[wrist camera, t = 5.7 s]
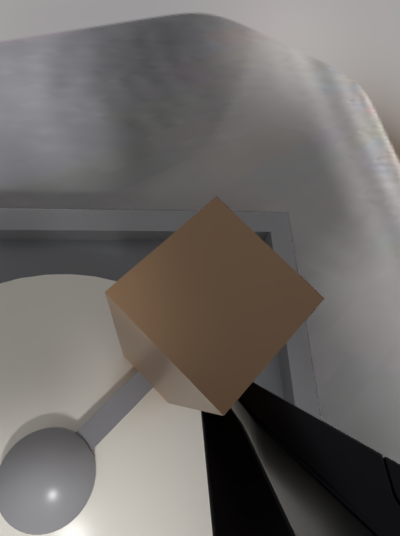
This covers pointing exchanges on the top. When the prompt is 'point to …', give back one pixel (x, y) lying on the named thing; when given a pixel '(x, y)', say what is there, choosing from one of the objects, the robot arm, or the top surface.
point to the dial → (135, 379)
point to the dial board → (135, 250)
